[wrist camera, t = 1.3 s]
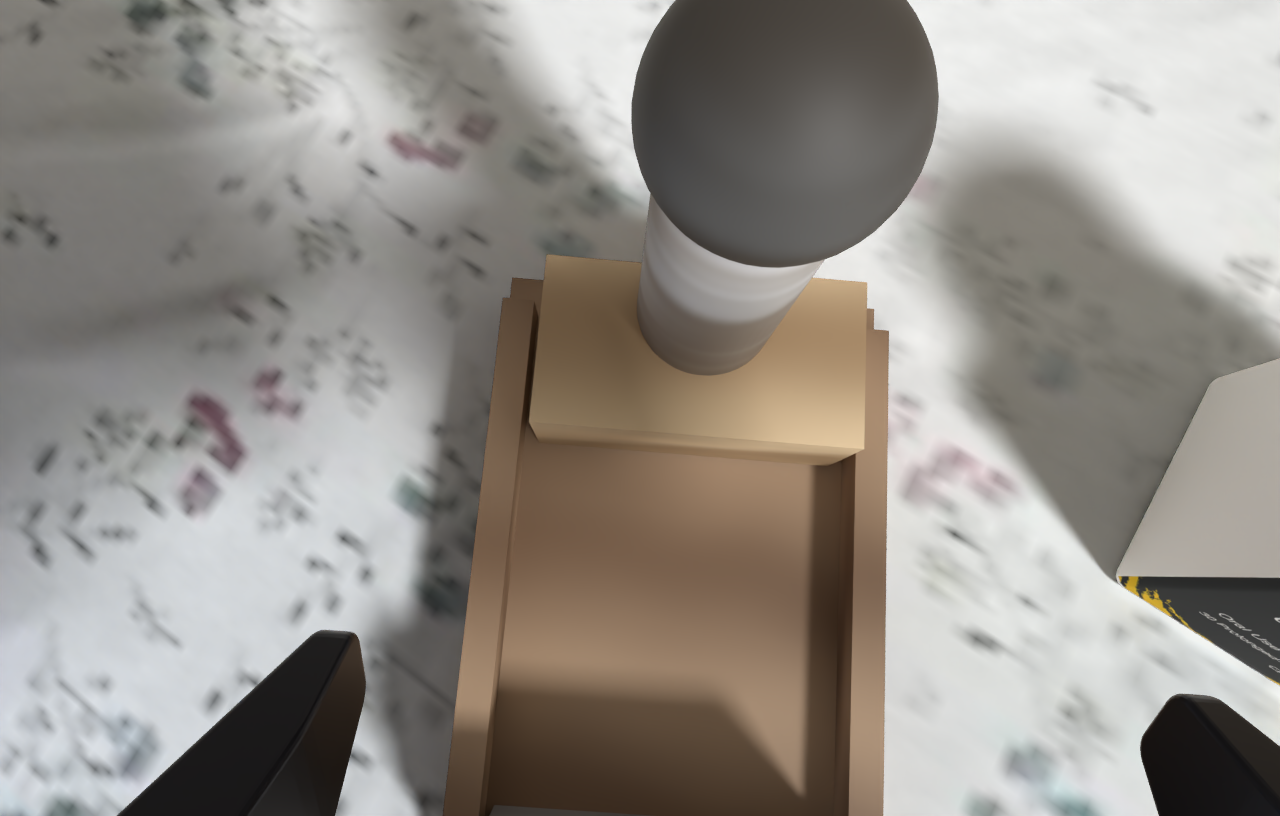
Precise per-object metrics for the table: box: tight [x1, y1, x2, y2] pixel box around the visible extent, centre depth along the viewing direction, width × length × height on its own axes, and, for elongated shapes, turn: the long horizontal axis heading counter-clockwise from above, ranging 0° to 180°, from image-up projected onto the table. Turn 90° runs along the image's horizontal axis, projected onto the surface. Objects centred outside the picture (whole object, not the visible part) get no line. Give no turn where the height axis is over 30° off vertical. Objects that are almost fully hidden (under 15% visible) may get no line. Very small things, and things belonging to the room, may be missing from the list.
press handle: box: [529, 0, 939, 466], centre depth 15 cm, size 5×8×13 cm, turn 86°
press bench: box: [443, 278, 889, 816], centre depth 19 cm, size 16×10×6 cm, turn 176°
